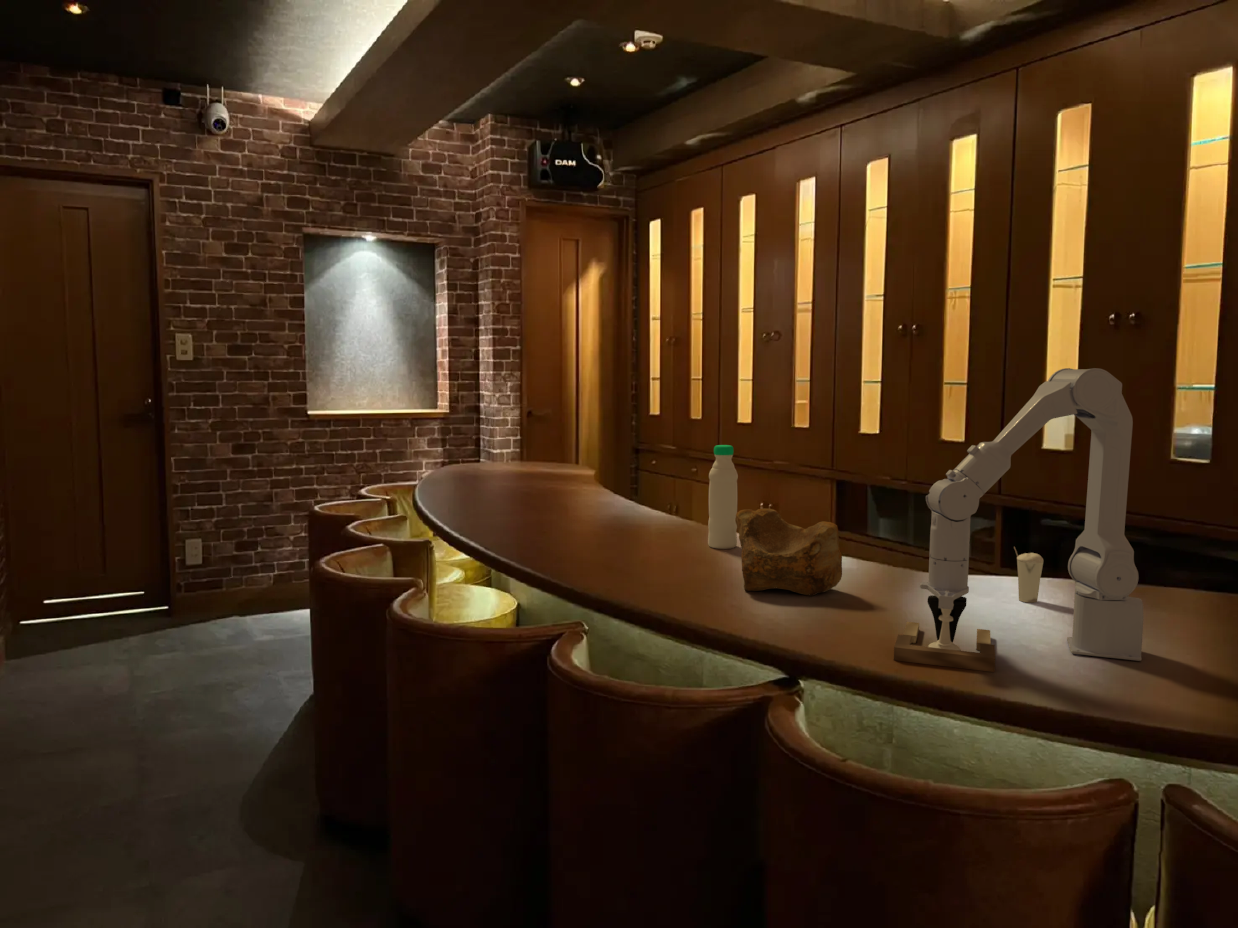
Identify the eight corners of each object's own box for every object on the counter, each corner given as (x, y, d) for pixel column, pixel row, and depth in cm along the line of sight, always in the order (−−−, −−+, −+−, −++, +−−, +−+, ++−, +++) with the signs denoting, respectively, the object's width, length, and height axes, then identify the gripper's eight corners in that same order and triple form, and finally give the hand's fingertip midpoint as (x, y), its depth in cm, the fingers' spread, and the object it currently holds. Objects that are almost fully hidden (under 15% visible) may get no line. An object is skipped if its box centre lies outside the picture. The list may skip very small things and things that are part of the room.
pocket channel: (989, 637, 146) (990, 630, 146) (990, 651, 139) (990, 643, 139) (906, 628, 151) (906, 621, 151) (902, 641, 144) (902, 634, 144)
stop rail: (993, 657, 136) (994, 644, 136) (994, 672, 130) (995, 658, 129) (897, 646, 141) (898, 634, 141) (893, 660, 135) (894, 647, 135)
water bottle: (741, 545, 222) (743, 445, 219) (729, 550, 216) (730, 447, 213) (715, 542, 225) (717, 443, 223) (702, 547, 219) (704, 445, 217)
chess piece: (933, 643, 141) (936, 583, 139) (965, 650, 138) (969, 589, 136) (922, 654, 137) (925, 593, 135) (955, 662, 134) (958, 599, 132)
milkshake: (1016, 595, 173) (1018, 544, 172) (1045, 600, 169) (1047, 548, 168) (1006, 599, 170) (1009, 548, 169) (1035, 605, 166) (1038, 552, 165)
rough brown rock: (702, 590, 180) (702, 518, 177) (747, 569, 193) (747, 502, 190) (805, 615, 165) (806, 536, 162) (847, 590, 178) (849, 517, 175)
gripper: (924, 546, 146) (920, 627, 148) (918, 564, 133) (915, 653, 134) (970, 550, 144) (966, 632, 145) (969, 568, 130) (965, 659, 132)
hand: (945, 643), depth 140 cm, fingers closed, pressing on chess piece
